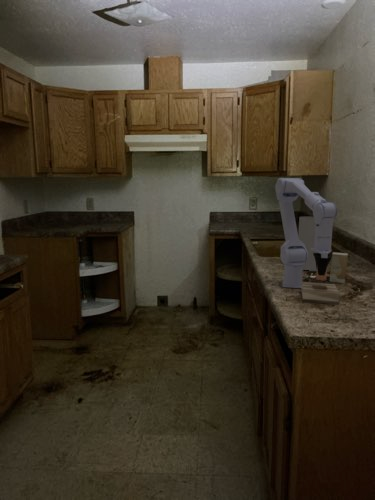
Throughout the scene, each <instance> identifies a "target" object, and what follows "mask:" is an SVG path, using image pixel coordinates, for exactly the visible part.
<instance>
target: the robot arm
mask: <svg viewBox="0 0 375 500" xmlns="http://www.w3.org/2000/svg"><path fill="white" fill-rule="evenodd" d="M275 183H276V184H275V186H274V189H275V196H276V200H277V201H278V204H279V210H280V216H281V222H282V227H283V228H282V229H283V234H284V240H285V242H284V243H283V244H282V245H280V260H281V262H282V264H283V265H284V267H283V280H282V281H281V282H282V287H283V288H290V289H291V288H293V289H301V287H302V282H303V271H304V270H303V265H305V262H306V261H307V260H308V252H307V250H306V247H305V244H304V243H303V242H301V241H300V240H299V238H298V234H299V231H298V228H297V223H296V216H295V209H294V206H293V203H294V201H297V199H298V198H299V196H300V197H301V198H302V199H303V200H304V204H305V205H306V206H307V207H308V209H310V210H311V211H312V215H313V216H312V217H314V222H315V224H316V228H315V242H314V248H311V251H315V252H318V253H313V255H314V257H315V261H316V269H317V270H318V275H323V276H324V275H325V273H326V269H327V270H328V265H329V263H330V261H332V256H330V253H331V252H332V241H333V240H332V239H333V229H334V226H333V225H334V219H335V218H336V217H337V215H338V206H337V205H336V204H335V202H330V201H329V202H328V201H327V199H325V198H323V197H322V196H321V195H320V193H319V192H318V191H311V190H310V189H309V188H308V187H307V186H306V185H305V180H303V179H302V178H301V177H296V178H294V177H293V178H292V177H285V178H284V177H279V178H277V181H276V182H275Z"/></svg>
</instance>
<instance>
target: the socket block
mask: <svg viewBox="0 0 375 500" xmlns="http://www.w3.org/2000/svg"><path fill="white" fill-rule="evenodd" d="M300 289H301V290H300V293H301V294H300V295H301V299H302V302H303V303H315V304H317V303H319V304H328V305H340V304H339V303H340V291H339V290H338V288H337V286H336V284H334V283H318V282H303V281H302V287H301V288H300Z"/></svg>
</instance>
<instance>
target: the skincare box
mask: <svg viewBox="0 0 375 500" xmlns="http://www.w3.org/2000/svg"><path fill="white" fill-rule="evenodd" d="M331 255H332V256H331V263H330V273H329V282H332V283H340V284H345V283H346V276H347V267H348V258H349V253H346V252H345V253H344V252H333V251H332V254H331Z"/></svg>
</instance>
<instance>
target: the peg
mask: <svg viewBox="0 0 375 500" xmlns="http://www.w3.org/2000/svg"><path fill="white" fill-rule="evenodd" d="M327 273H328V268H327V269H326V273H325V275H324V276H323V275H318V270H317V271H316V276H315V280H317V281H324V282H325V281H326V280H327V275H328V274H327Z"/></svg>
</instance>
